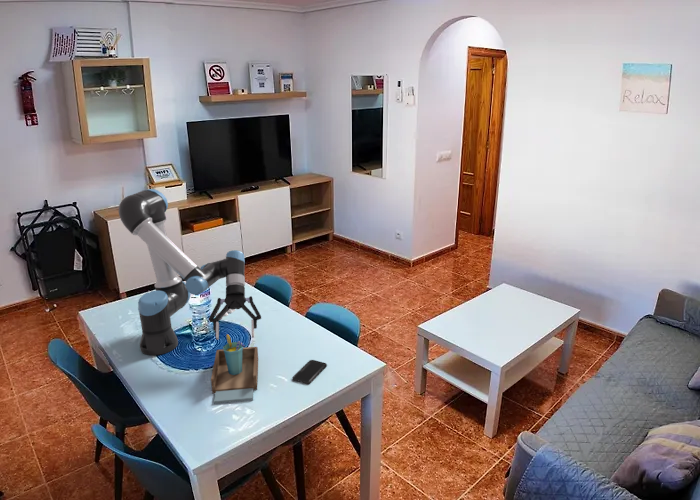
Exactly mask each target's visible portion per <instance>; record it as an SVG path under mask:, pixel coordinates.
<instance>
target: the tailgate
mask: <svg viewBox="0 0 700 500" xmlns="http://www.w3.org/2000/svg"><path fill="white" fill-rule="evenodd" d="M254 391H255V390H253V388H249V389H237V390H226V391H216V393H214V394H215V395H214V400H213V403H214V405H215V404H216V405H217V404H227V403H235V402H236V403H237V402H247V401H254Z"/></svg>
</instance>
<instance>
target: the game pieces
mask: <svg viewBox="0 0 700 500" xmlns="http://www.w3.org/2000/svg"><path fill="white" fill-rule="evenodd" d="M235 311H236V309H234V310H232V309H229V310H228V311H227V312H226V313H225V314H224V315H223V317H227V316H229V313H230V314H233V313H234V312H235ZM219 313H220V312H217V314H216V316H217V315H218V314H219ZM216 316H215V317H216ZM223 317H222V318H221V319H220V320H222V319H223Z"/></svg>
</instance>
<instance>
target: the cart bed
mask: <svg viewBox="0 0 700 500" xmlns="http://www.w3.org/2000/svg"><path fill="white" fill-rule="evenodd" d="M210 377H211V378H210V383H211V391H212V394H215V393H216V391H226V390H237V389H249V388H253V390H254V391H256V390H258V377H259V351H258V346H249V347H247V346H246V347H243V350H242V372H241V373H240V374H237V375H231V374H229V372H228V368H227V363H226V357H225V353H224V350H223V348H222V349H216V352H215V357H214V362H213V366H212V372H211V376H210Z"/></svg>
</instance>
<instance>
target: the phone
mask: <svg viewBox="0 0 700 500" xmlns="http://www.w3.org/2000/svg"><path fill="white" fill-rule="evenodd" d="M327 366H328V364H327V363H326V362H322V361H319V360H315V359H309V360H308V361H307V362H306V363H305V364H304V365H303V366H302V367H301V368H300V369H299V370H298V371H297V372H296V373H295V374H294V375H293V376H292V377H291V378H292V381H293V382H294V381H295V382H297V383H300V384H303V385H310V384H312V382H314V380H315V379H316V378H317V377H319V376H320V374H321V373H322V372H323V371H324V370H325V369H326V368H327Z"/></svg>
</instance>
